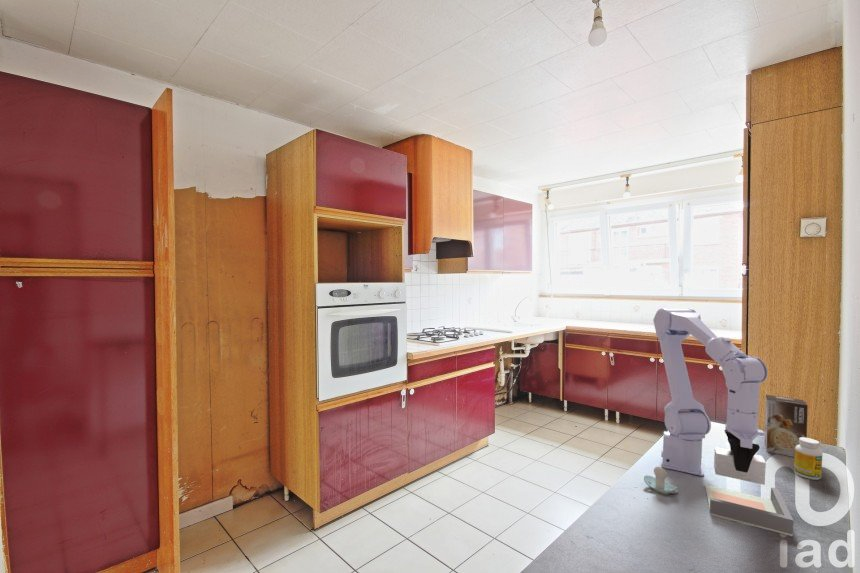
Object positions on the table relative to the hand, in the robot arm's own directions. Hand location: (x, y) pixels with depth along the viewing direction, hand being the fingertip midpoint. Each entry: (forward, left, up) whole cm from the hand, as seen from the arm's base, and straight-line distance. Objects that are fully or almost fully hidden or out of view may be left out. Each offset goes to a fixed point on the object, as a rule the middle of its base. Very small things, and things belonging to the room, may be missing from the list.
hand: (739, 466), depth 94 cm
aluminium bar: (0, 0, -2) cm, 2 cm away
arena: (+1, -2, -9) cm, 9 cm away
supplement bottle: (+18, +26, -9) cm, 33 cm away
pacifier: (-15, -2, -9) cm, 18 cm away
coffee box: (+16, +41, -9) cm, 45 cm away
